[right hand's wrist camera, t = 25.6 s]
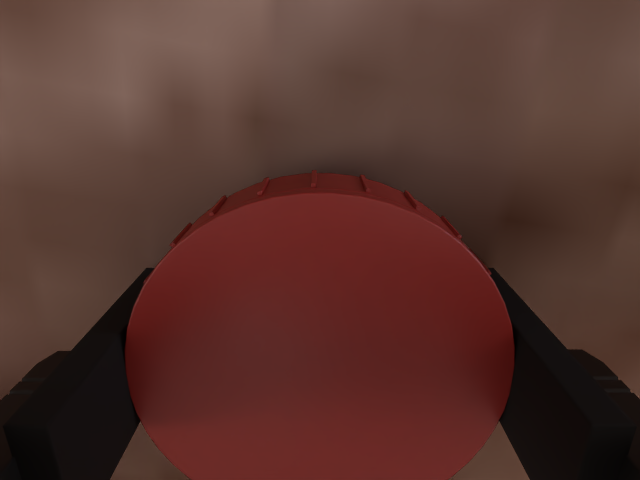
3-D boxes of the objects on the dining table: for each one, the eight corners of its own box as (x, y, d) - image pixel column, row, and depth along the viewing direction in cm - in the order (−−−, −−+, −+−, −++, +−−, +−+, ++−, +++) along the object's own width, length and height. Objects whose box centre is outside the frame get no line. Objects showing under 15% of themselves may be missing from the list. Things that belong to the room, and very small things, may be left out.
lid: (256, 499, 14) (247, 563, 13) (81, 267, 12) (35, 304, 10) (530, 395, 13) (566, 448, 11) (407, 100, 10) (428, 105, 8)
